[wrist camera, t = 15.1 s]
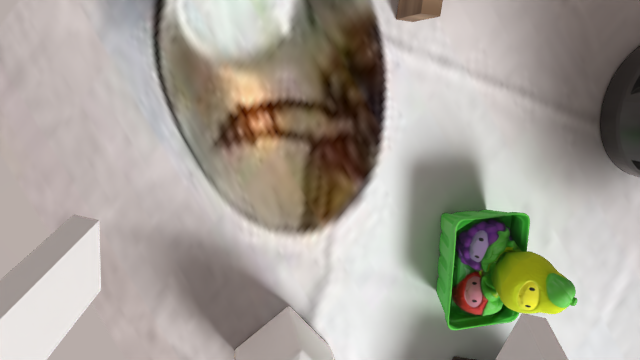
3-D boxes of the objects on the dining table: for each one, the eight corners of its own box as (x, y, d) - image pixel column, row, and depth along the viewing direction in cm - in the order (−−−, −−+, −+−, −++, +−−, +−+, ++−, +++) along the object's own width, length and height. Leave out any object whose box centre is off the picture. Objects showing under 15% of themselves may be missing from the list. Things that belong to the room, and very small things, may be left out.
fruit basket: (429, 202, 43) (497, 248, 32) (509, 195, 45) (598, 237, 34) (423, 303, 46) (483, 376, 35) (498, 293, 48) (576, 360, 37)
